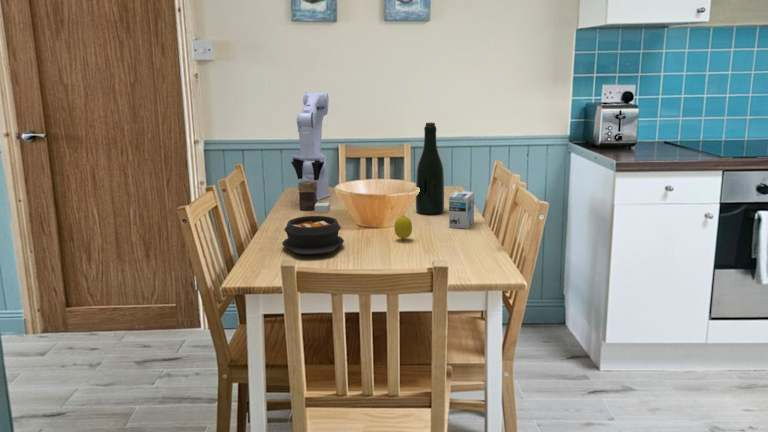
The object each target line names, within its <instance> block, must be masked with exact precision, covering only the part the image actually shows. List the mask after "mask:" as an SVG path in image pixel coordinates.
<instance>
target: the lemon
mask: <svg viewBox="0 0 768 432" xmlns="http://www.w3.org/2000/svg"><path fill="white" fill-rule="evenodd" d="M411 221H412V220H411V219H410V218H409V217H408V216H406V215H403V214H402V215H401V216H399V217H398V218H397V219H395V222H394V228H393V229H394V233H395V235H396V236H397V237H398V238H400V239H401V240H402V241H405V240H406V239H407V238H409V237H410V236H411V235H412V232H413V225H412V222H411Z"/></svg>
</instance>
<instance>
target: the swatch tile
mask: <svg viewBox="0 0 768 432" xmlns="http://www.w3.org/2000/svg"><path fill="white" fill-rule="evenodd" d="M317 203H330V206H331V205H333V202H332V203H331V202H327V201H319V202H318V201H317Z"/></svg>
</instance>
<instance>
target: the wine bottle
mask: <svg viewBox="0 0 768 432" xmlns="http://www.w3.org/2000/svg"><path fill="white" fill-rule="evenodd" d="M437 129H438V128H437V126H436V123H435V122H426V123H425V125H424V129H423V130H424V131H423V132H424V136H423V137H424V138H423V146H422V147H423V149H422V152H421V155H420V158H419V160H418V163H417V166H416V174H415V175H416V178H415V179H416V180H415V183H416V184H415V188H416V187H419V188H420V192H419V194H418V195H417V196H416V195H415V211H416V212H417V213H418V214H420V215H428V216H429V215H431V216H432V215H441V214H442V213H443V212H444V211H445V172H444V165H443V162H442V159H441V156H440V153H439V150H438V145H437Z"/></svg>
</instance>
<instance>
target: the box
mask: <svg viewBox="0 0 768 432" xmlns="http://www.w3.org/2000/svg"><path fill="white" fill-rule="evenodd" d="M298 197H299V211H302V212H304V211H315V204H316V203H318V200H317V191H316V190H314V191H311V192H305V191H298Z"/></svg>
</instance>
